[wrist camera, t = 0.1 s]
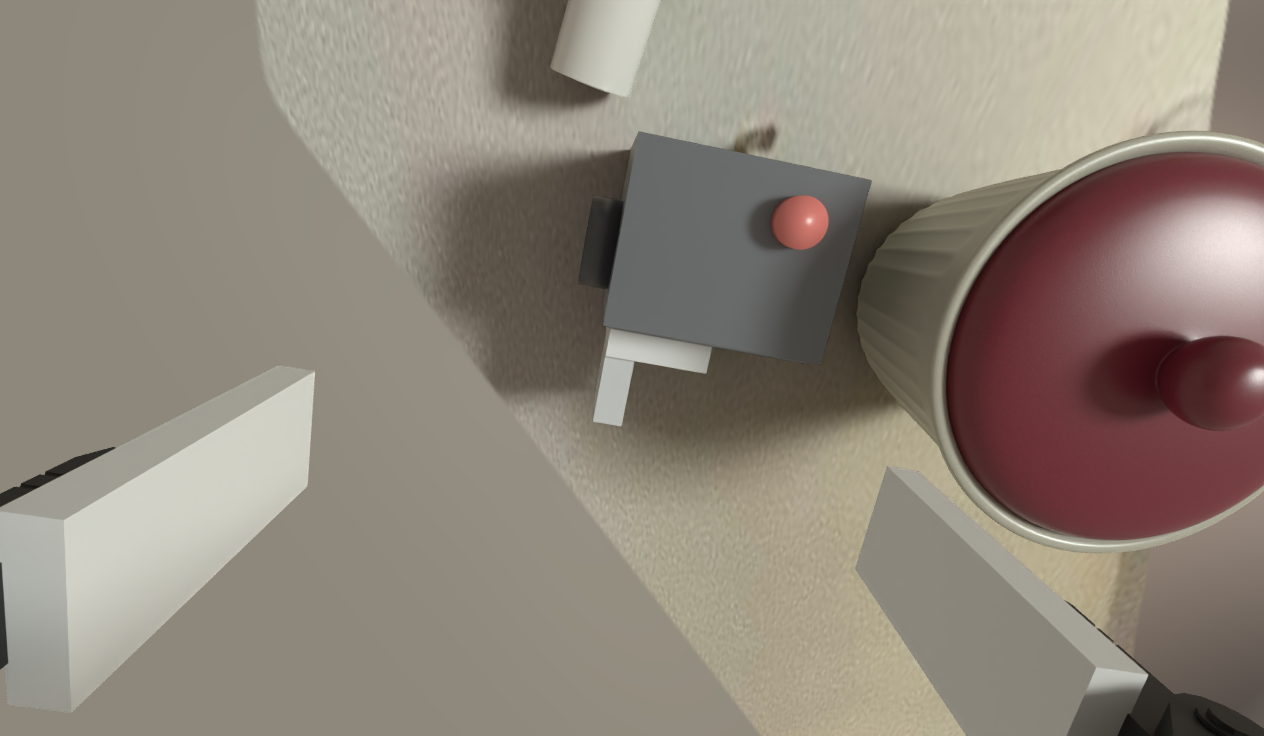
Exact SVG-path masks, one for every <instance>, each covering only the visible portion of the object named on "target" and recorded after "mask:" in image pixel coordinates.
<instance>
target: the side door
mask: <svg viewBox="0 0 1264 736" xmlns="http://www.w3.org/2000/svg"><path fill="white" fill-rule="evenodd" d="M711 351H712V347H709V346H703V345H698V344H693V343H687V342H682V341H676V340H671V339H665V338H660V337H654V336H649V335H643V334H638V333H632V332H627V331H621V330H616V329H610V328H608V326H606V335H605V341H604V346H603V351H602V357H601V362H600V368H599V373H598V378H597V384H596V389H595V398H594V413H593V422H599V423H604V424H610V425H616V426H622V421H623V416H624V411H625V406H626V401H627V396H628V391H629V386H630V381H631V376H632V371H633V366H634V361H637V362H643V363H648V364H654V365H659V366H665V367H671V368H676V369H682V370H687V371H693V372H699V373H704V374H706V372H707V368H708V364H709V359H710V355H711Z"/></svg>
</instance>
